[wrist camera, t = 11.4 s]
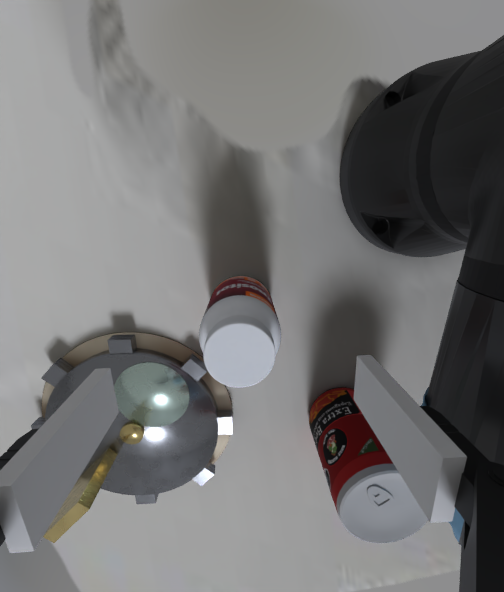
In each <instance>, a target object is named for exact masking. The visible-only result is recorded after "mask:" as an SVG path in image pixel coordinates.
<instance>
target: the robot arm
mask: <svg viewBox="0 0 504 592" xmlns="http://www.w3.org/2000/svg"><path fill="white" fill-rule="evenodd" d="M340 186H341V194H342V199H343V203H344V206H345V209H346V212H347V214H348V216H349V218H350V220H351V222H352V223H353V225H354V226H355V228H356V229H357V230H358V231H359V232H360V234H361V235H362V236H363V237H365V238H366V239H367V240H368V241H369V242H371V243H372V244H374V245H375V246H377V247H379V248H381V249H384V250H386V251H389V252H393V253H397V254H402V255H406V256H412V257H432V256H439V255H443V254H447V253H451V252H455V251H459V250H463V249H466V250H465V255H464V259H463V262H462V266H461V270H460V274H459V277H458V280H457V282H456V286H455V290H454V294H453V297H452V301H451V305H450V309H449V313H448V317H447V320H446V324H445V328H444V332H443V336H442V340H441V343H440V347H439V351H438V355H437V359H436V362H435V366H434V370H433V374H432V378H431V382H430V385H429V387H428V388H427V390H426V392H425V394H424V398H423V404H422V405H421V406H419V405H418V404H417V403H416V402H415V401H414V400H413V399H412V398H411V397H410V396H409V395H408V393H407V392H406V391H405V390H404V389H403V388H402V387H401V386H400V385H399V384H398V383H397V382H396V381H395V380H394V379H393V378H392V376H391V375H390V374H389V373H388V372H387V371H386V370H385V369H384V368H383V367H382V366H381V365H380V364H379V363H378V362H377V361H376V359H375V358H374V357H373V356H372V355H357V362H356V375H355V387H354V401H355V402H356V404H357V406H358V407H359V409H360V410H361V412H362V414H363V415H364V417H365V419H366V420H367V422H368V423H369V425H370V427H371V428H372V430H373V431H374V433H375V435H376V436H377V438H378V439H379V441H380V443H381V444H382V446H383V448H384V449H385V451H386V452H387V454H388V456H389V457H390V459H391V460H392V462H393V464H394V465H395V467H396V469H397V470H398V472H399V473H400V475H401V477H402V478H403V480H404V481H405V483H406V485H407V486H408V488H409V490H410V491H411V493H412V494H413V496H414V498H415V499H416V501H417V502H418V504H419V506H420V507H421V509H422V510H423V512H424V514H425V515H426V517H427V519H428V520H429V522H430V523H437V522H449V523H450V524H451V526H452V528H453V532H454V535H455V538H456V539H457V541H458V542H459V543H458V544H460V545H461V546H462V547H461V567H460V587H459V592H504V35H503V36H502V37H500V38H499V39H498V40H496V41H495V42H494V43H492V44H491V45H489V46H488V47H486V48H485V49H484V50H482V51H478V52H474V53H470V54H466V55H461V56H457V57H453V58H448V59H444V60H440V61H435V62H432V63H429V64H426V65H423V66H421V67H419V68H417V69H415V70H413V71H411V72H409V73H407V74H406V75H404V76H402V77H401V78H399V79H398V80H397V81H395V82H394V83H393V84H391V85H390V86H389V87H388V88H387V89H386V90H384V91H383V92H382V93H381V94H380V95H379V96H377V97H376V98H375V99H374V100H373V101H372V102H371V103H370V104H369V106H368V107H367V108H366V109H365V110H364V112H363V113H362V114H361V116H360V117H359V119H358V120H357V122H356V124H355V125H354V127H353V129H352V131H351V133H350V135H349V138H348V140H347V143H346V146H345V149H344V152H343V157H342V162H341V171H340ZM118 413H119V410H118V405H117V400H116V395H115V390H114V385H113V380H112V375H111V369H110V368H100V369H95V370H94V371H93V372H92V373H91V374H90V375H89V376H88V377H87V378H86V379H85V380H84V381H83V383H82V384H81V385H80V386H79V387H78V388H77V389H76V390H75V391H74V392H73V393H72V394H71V395H70V396H69V397H68V399H67V400H66V401H65V402H64V403H63V404H62V405H61V406H60V407H59V408H58V409H57V410H56V411H55V412H54V414H53V415H52V416H51V417H50V418H49V419H48V420H47V421H46V422H45V423H44V424H43V425H42V426H41V427H40V428H39V429H32V430H31V431H29V432H28V433H26V434H25V435H23V436H22V437H20V438H19V439H18V440H17V441H16V442H15V443H14V444H13V445H12V446H11V447H10V448H9V449H8V450H7V452H5V453H4V454H3V455H2V456H1V457H0V546H1V545H2V543H3V542H4V540H5V542H6V544H7V547H8V549H9V552H10V553H17V552H30V551H34V550H35V549H36V547H37V545H38V544H39V543H40V541H41V539H42V538H43V536H44V534H45V533H46V531H47V529H48V528H49V526H50V525H51V523H52V521H53V520H54V518H55V516H56V515H57V513H58V511H59V510H60V508H61V507H62V505H63V503H64V502H65V500H66V498H67V497H68V495H69V493H70V492H71V490H72V488H73V487H74V485H75V484H76V482H77V480H78V479H79V477H80V475H81V474H82V472H83V470H84V469H85V467H86V466H87V464H88V462H89V461H90V459H91V457H92V456H93V454H94V452H95V451H96V449H97V447H98V446H99V444H100V443H101V441H102V439H103V438H104V436H105V434H106V433H107V431H108V429H109V428H110V426H111V424H112V423H113V421H114V420H115V418H116V416H117V415H118Z"/></svg>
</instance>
